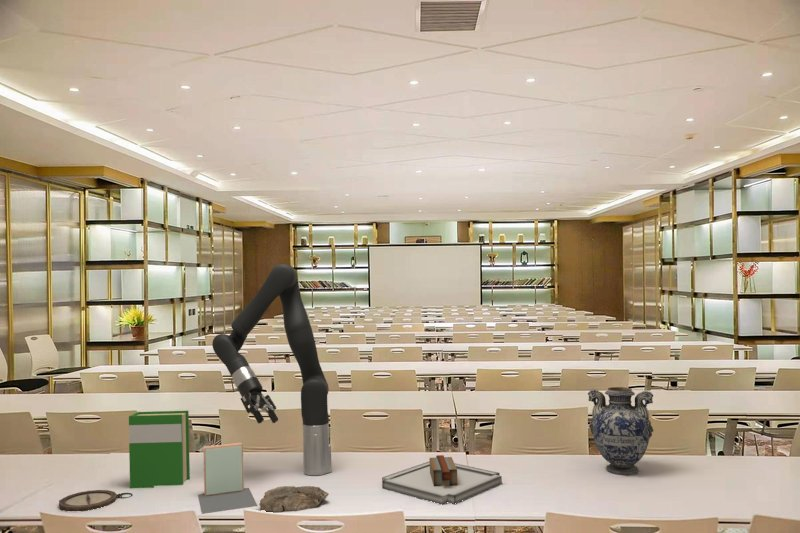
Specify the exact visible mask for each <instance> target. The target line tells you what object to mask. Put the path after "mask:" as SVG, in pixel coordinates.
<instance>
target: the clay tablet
mask: <svg viewBox="0 0 800 533" xmlns="http://www.w3.org/2000/svg"><path fill="white" fill-rule="evenodd" d="M328 496H329V492H327V491H325V490H324V489H322V488H320V486H314V485H313V486H311V485H303V486H295V485H291V486H290V485H287V486H286V485H285V486H277V487H275V488H271V489H268V490H267V491H265V492H264V495H263V498H261V499H260V500H259V506H260V507H259V510H265V511H273V512H272V513H281V512H283V511H286V512H300V511H304V510H308V509H313V508H316V507H318V506H319V505H320V504H321V503H322V501H323V500H325V499H327V497H328Z"/></svg>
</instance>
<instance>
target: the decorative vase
mask: <svg viewBox="0 0 800 533" xmlns="http://www.w3.org/2000/svg"><path fill="white" fill-rule="evenodd" d="M587 395H588V399H587V400H588V402H592V403H593V404H594V405H593V408H592V411H591V414H592V417H591V421H590V422H589V425H588V427H589V429H590V433H591V435H593V440H594V442H595V445H596V447H597V450H598V452H599V453H600V455H601V456H602V458H603V459H604V460H606V462H608V463H609V464H607V465H606V466H605V467H606V468H605V470H606V471H607V472H609V473H611V474H613V475H614V474H615V475H625V476H631V475H637V474H638V473H640V470H639V468H638V467H637V466H636V464H637V463H638V462H640V461H641V459H642V458H643V457H644V455H645V453H646V451H647V449H648V446H649V443H650V438H651V437H652V436H653V433H654V429H653V426H652V422H651V420H649V419H650V414H649V413H650V412H649V410H648V408H647V407H648V405H649V404H653V403H654V401H653V397H654V394H653V393H652V391H649V390H643V391H640V392H639V393H637V394H636V393H635V392H634V391H633V390H632V388H630V387H624V386H623V387H621V386H619V387H618V386H613V387H608V388H607V390H606V391H604V394H603V392H601V391H599V390H598V389H592V390H591V389H589V392H588V393H587ZM605 395H607V396H608V403H609V404H607V402H606V396H605ZM633 396H635V397H634V405H632V402H633V401H632V397H633ZM643 401H644V402H643Z"/></svg>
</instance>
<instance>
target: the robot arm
mask: <svg viewBox="0 0 800 533" xmlns="http://www.w3.org/2000/svg"><path fill="white" fill-rule="evenodd" d="M278 297H279V299H280V302H281V306H282V314H283V315H282V316H283V325H284V331H285V335H286V338H287V342H288V345H289V348H290V351H291V352H292V354H293V357H294V358H295V360H296V362H297V364H298V367H299V370H300V373H301V380H302V387H301V389H300V407H301V408H300V410H301V419H302V448H303V449H302V450H303V451H302V452H303V454H302V455H303V456H302V457H303V474H305V475H307V476H321V475H327V474H329V473H332V446H331V444H330V417H329V410H328V409H329V407H328V405H329V404H328V394H329V390H330V388H329V384H328V382H327V379H326V377H325V373H324V372H323V369H322V366H321V363H320V361H319V357H318V356H319V355H318V351H317V350H318V349H317V345H316V340H315V337H314V333H313V329H312V326H311V322H310V319H309V315H308V313H307V310H306V308H305V305H304V303H303V300H302V296H301V291H300V286H299V279H298V273H297V271H296V269H295V268H294V267H293V266H291V265H290V264H285V263H281V264H277V265H274V267H272V269H271V270H270V272H269V274H268V276H267V277H266V279H265V281H264V282H263V283H262V286H260V288H259V290H258V291H257V293H256V294H255V296H254V297H253V298H252V299H251V300H250V301H249V302H248V303H247V304H246V306H245V307H243V309H242V310H241V311H240V313H239V314H237V316H236V318H234V320H233V321H232V323H231V325H230V326H231V329H232V330H231V332H230V334H229V335H228V334H227V333H226V334H225V333H219V334H216V335H215V336H214V337H213V340H212V350H213V352H214V353H215V356H217V357H218V358H219V360H220V361H221V362H222V363H223V364H224V366H225V367H226V369H227V371H228V373H229V374H230V376H231V378H232V382H233V383H234V385H235V387H236V389H237V391H238V393H239V394H240V396H241V398H240V401H241V403H242V405H243V407H244V409H245V411H246V412H247V414H249V413H250V415H253V417H254V419H255V420H256V423H257V424H262V423H263V422H264V421H265V418H264V416H263V415H262V413H261V411H263V412H265V413H266V414H267V415H268V418H269V419H270V421H271V423H273V424H275V423H277V422H278V421H279V418H278V415H277V414H276V412H275V410H277V406H276V405H275V403H274V401H273V400H272V398H271V397H270V395H269V394H266V395H264V394H263V393H262V391H263V385H262V383H261V382H260V380H259V378H258V376H257V375H256V373H255V371H254V370H253V369H252V367H251V366H250V364H249V362H248V360H247V359H246V357H245V356H244V355H242V354H241V353H240V352H239V351H241V349H242V347H243V346H244V344H245V342H246V340H247V338H248V335H249V334H250V333H251V331H252V330H253V329H254V328H255V327H256V325H257V324H258V323H259V322H260V320H261V319H262V317H263V316H264V315H265V313H266V311H267V310H268V309H269V307H271V305H272V303H273V302H274V301H275V300H276V299H277V298H278ZM260 410H261V411H260Z"/></svg>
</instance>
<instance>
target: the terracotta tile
mask: <svg viewBox="0 0 800 533" xmlns="http://www.w3.org/2000/svg"><path fill="white" fill-rule="evenodd" d="M243 447H244V445H243V442H233V443H226V444H217V445H207V446H203V448H202V449H203V490H204V493H203V494H204V495H205V496H211V495H218V494H225V493H233V492H240V491H244V488H245V487H244V485H245V484H244V448H243Z"/></svg>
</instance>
